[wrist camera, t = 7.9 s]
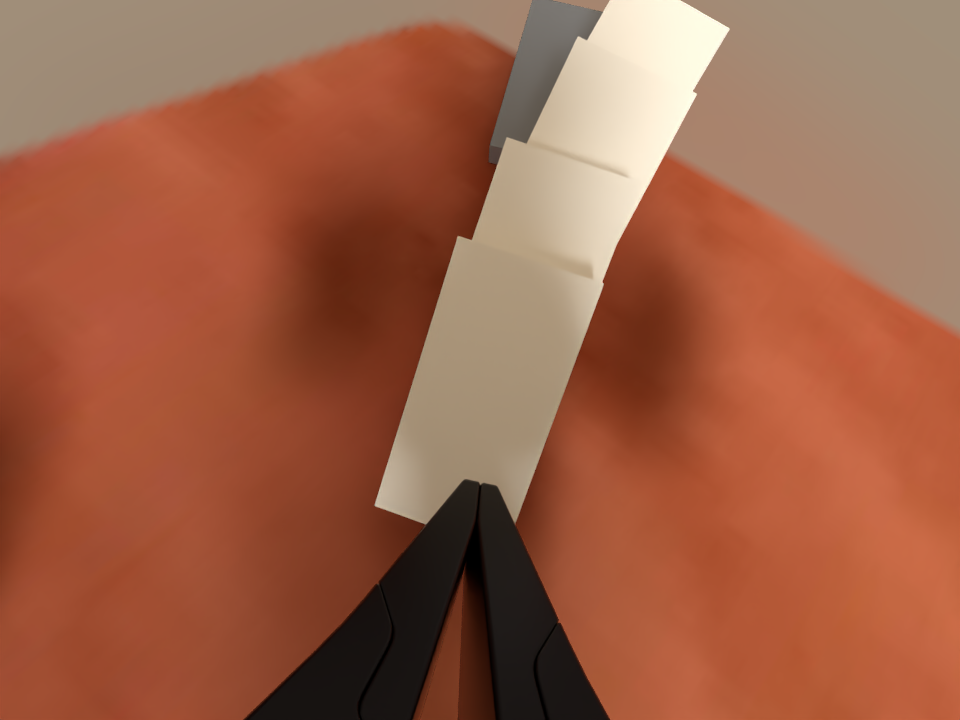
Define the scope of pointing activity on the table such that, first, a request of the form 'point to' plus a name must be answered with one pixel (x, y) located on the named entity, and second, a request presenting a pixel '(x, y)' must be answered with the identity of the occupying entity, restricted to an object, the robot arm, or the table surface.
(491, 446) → the domino
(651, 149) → the domino
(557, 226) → the domino
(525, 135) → the domino
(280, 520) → the table surface
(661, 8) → the domino
